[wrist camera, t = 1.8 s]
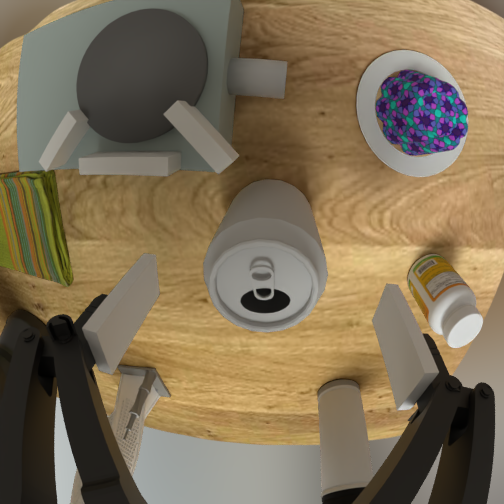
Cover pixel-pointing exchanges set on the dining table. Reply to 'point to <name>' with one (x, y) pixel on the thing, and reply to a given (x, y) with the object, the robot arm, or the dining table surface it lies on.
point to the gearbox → (137, 88)
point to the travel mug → (343, 442)
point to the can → (266, 259)
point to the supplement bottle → (445, 300)
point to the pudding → (412, 113)
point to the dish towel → (33, 226)
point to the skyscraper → (130, 414)
